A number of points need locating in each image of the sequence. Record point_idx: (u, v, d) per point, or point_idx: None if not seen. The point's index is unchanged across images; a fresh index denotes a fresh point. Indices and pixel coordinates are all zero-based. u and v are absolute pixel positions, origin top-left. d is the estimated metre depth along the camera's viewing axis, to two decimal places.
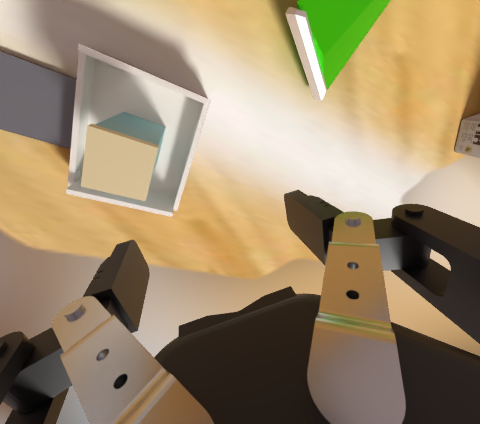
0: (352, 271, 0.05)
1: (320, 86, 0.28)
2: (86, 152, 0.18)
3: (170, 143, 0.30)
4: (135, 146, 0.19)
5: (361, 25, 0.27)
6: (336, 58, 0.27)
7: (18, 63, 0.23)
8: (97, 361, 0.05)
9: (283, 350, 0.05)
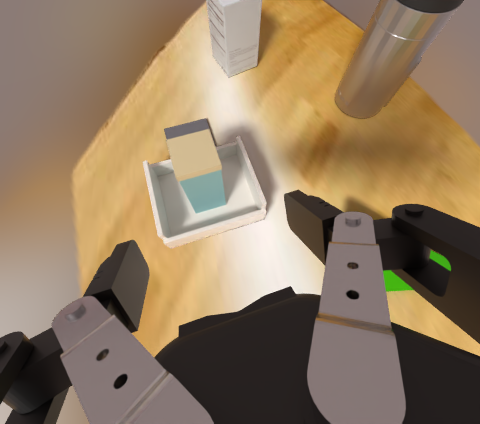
0: (352, 271, 0.05)
1: None
2: (191, 134, 0.27)
3: (216, 213, 0.36)
4: (213, 153, 0.26)
5: None
6: None
7: None
8: (98, 361, 0.05)
9: (283, 350, 0.05)
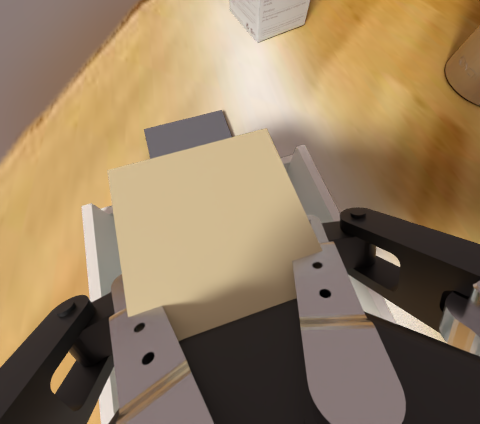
0: (318, 271, 0.06)
1: None
2: (205, 147, 0.07)
3: None
4: (295, 228, 0.06)
5: None
6: None
7: (225, 132, 0.22)
8: (135, 332, 0.05)
9: (283, 350, 0.05)
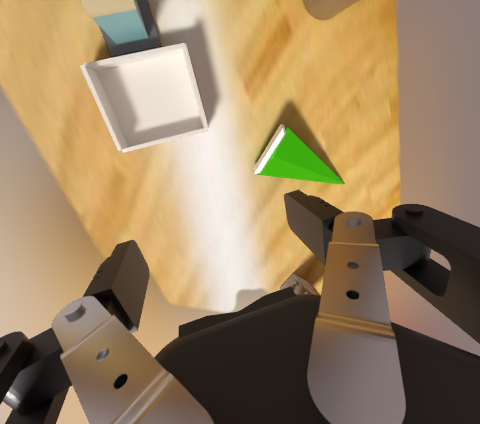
0: (352, 271, 0.05)
1: (260, 167, 0.45)
2: None
3: (164, 122, 0.41)
4: None
5: (293, 171, 0.48)
6: (275, 167, 0.46)
7: (145, 5, 0.34)
8: (97, 361, 0.05)
9: (283, 350, 0.05)
